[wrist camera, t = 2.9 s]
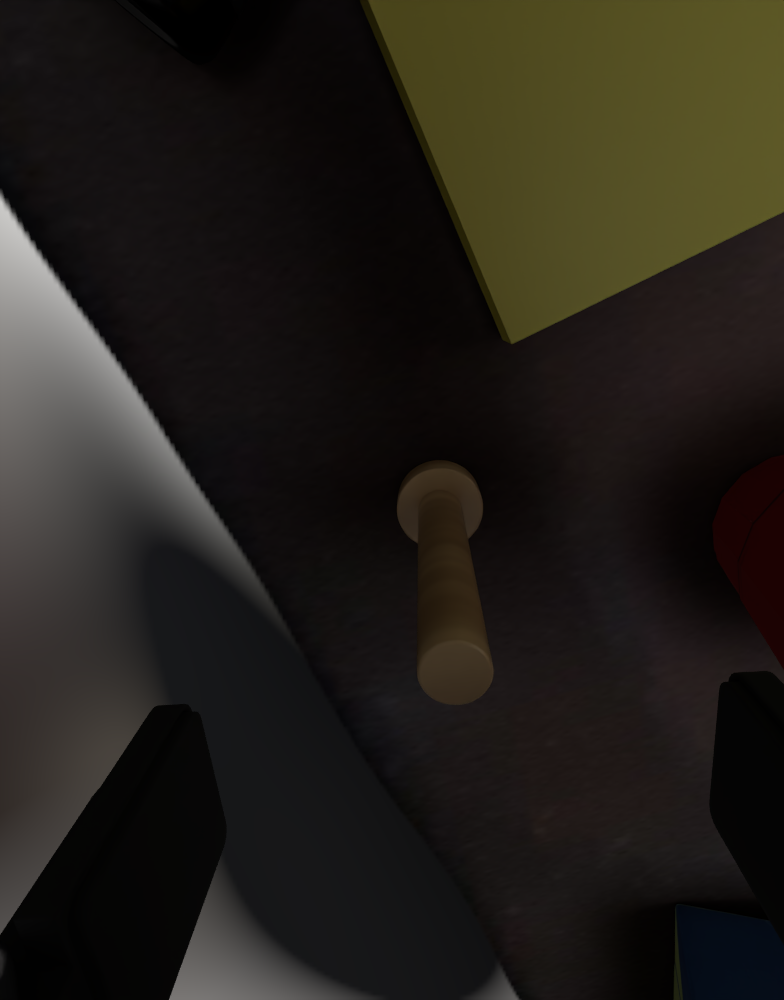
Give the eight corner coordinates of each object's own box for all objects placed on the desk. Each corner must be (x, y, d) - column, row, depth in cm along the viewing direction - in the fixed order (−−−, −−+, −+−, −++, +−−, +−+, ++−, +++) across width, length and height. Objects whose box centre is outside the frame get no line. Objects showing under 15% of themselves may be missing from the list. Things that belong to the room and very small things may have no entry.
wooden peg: (394, 463, 22) (370, 612, 12) (478, 456, 22) (531, 601, 12) (401, 540, 23) (386, 740, 13) (482, 534, 23) (534, 733, 13)
